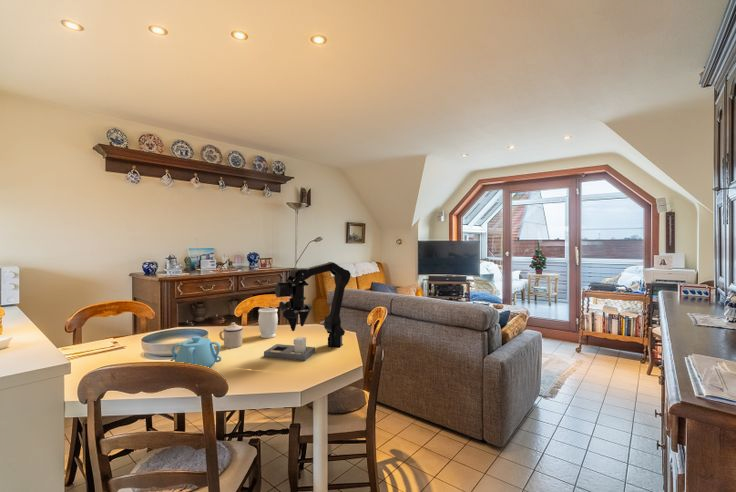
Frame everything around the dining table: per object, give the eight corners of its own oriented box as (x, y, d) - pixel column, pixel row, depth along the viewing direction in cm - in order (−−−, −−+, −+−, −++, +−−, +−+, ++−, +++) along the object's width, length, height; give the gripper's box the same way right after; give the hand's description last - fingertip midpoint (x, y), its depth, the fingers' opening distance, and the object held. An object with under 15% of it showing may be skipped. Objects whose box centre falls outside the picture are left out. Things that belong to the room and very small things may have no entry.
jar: (274, 339, 186) (274, 311, 186) (255, 338, 186) (255, 311, 186) (279, 333, 197) (280, 307, 196) (262, 333, 197) (262, 307, 197)
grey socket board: (315, 353, 163) (315, 347, 163) (305, 362, 151) (305, 355, 151) (276, 350, 167) (276, 343, 167) (263, 358, 156) (263, 351, 156)
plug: (305, 354, 160) (306, 337, 160) (302, 357, 156) (302, 339, 156) (296, 353, 161) (296, 336, 161) (292, 356, 157) (292, 339, 157)
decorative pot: (224, 369, 142) (225, 336, 142) (183, 380, 130) (184, 345, 130) (206, 360, 153) (207, 329, 153) (167, 370, 141) (167, 337, 140)
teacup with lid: (245, 343, 177) (246, 321, 177) (236, 349, 169) (236, 325, 168) (224, 342, 179) (224, 320, 179) (214, 347, 170) (214, 324, 170)
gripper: (291, 291, 172) (291, 322, 172) (272, 297, 154) (271, 332, 154) (312, 292, 169) (311, 324, 169) (294, 299, 151) (294, 334, 151)
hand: (297, 328), depth 161 cm, fingers open, 9 cm apart
